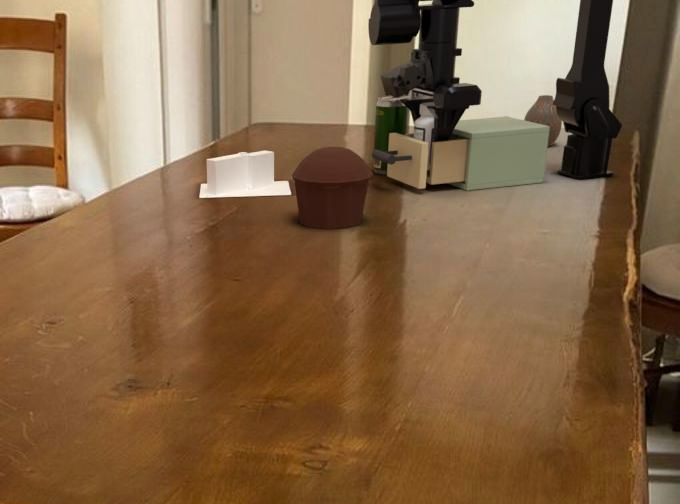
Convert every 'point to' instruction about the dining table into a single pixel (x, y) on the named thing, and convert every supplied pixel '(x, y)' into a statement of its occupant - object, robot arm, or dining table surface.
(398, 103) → the beer can
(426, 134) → the pill bottle
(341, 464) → the dining table surface
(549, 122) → the vase
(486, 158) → the cabinet
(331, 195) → the muffin
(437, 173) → the drawer
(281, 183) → the napkin holder
